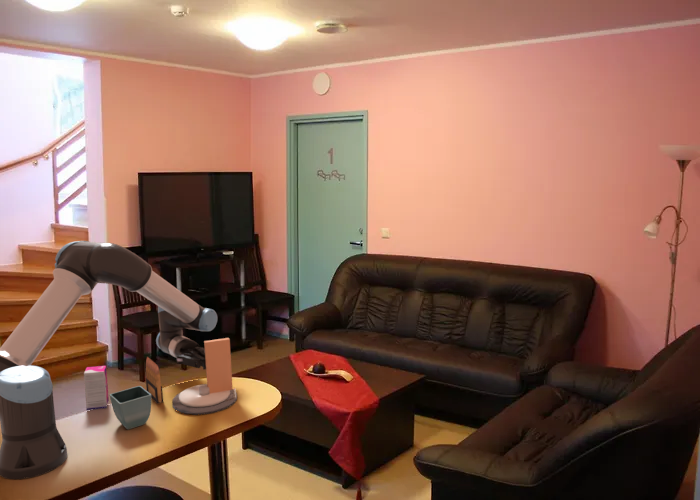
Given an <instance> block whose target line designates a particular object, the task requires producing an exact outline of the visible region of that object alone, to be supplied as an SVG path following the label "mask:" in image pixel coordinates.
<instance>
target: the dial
mask: <svg viewBox="0 0 700 500" xmlns="http://www.w3.org/2000/svg"><path fill="white" fill-rule="evenodd" d="M203 343H204V344H203V345H204V349H205V361H206V369H205V373H206V374H205V375H206V383H205V384H204V383H203V384H198V385H194V386H193V385H192V386H191V387H187V388H186V389H184V390H182V391H181V392H179V393H180V395H179V401H180V403H181V404H183V405H185V406H190V407H206V406H211V405H215V404H218V403H221V402H223V401H225V400H226V399H228V398H229V396H230V390H233V389H234V387H233V374H232V372H233V371H232V358H231V357H232V355H231V339H230V338H229V337H225V338H224V337H223V338H218V339H212V340H210V339H209V340H204V341H203Z"/></svg>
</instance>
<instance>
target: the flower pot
mask: <svg viewBox="0 0 700 500" xmlns="http://www.w3.org/2000/svg"><path fill="white" fill-rule="evenodd" d="M109 398H110V404H111V407H112V411H113V413H114V415H115V418H116V419H117V421H118V422H119V423H120V424H121V425H122V427H124V428H125V429H126V430H131V429H134V428H137V427H141V426H143V425H146V423H147V421H148V420H149V418H150V415H151V411H152V410H151V409H152V398H151V394H150V393H149V392H148V391H147V389H145V388H143V386H141V385H137V386H133V387H130V388H126V389H124V390H120V391H116V392H112V393H109Z"/></svg>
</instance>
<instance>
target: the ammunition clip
mask: <svg viewBox="0 0 700 500" xmlns="http://www.w3.org/2000/svg"><path fill="white" fill-rule="evenodd" d="M145 367H146V368H145V376H146V377H145V384H146V385H145V387H146V391H148V392H149V393H150V394H151V400H153V401H154V402H155V403H156V404H157V405H159V404H162V403H164V394H163V385H162V382H161V375H160V369H159V365H158V364H156V362H154V361H153V359H151V358H150V357H149V356H146V362H145Z"/></svg>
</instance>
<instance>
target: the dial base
mask: <svg viewBox="0 0 700 500" xmlns="http://www.w3.org/2000/svg"><path fill="white" fill-rule="evenodd" d="M236 389H237V388H235V387H233V390H230V396H229V398H228V399H226V400H225V401H223V402H221V403H218V404H215V405H211V406H206V407H190V406H185V405H183V404H181V403H180V401H179V395H180V393H181V392H179V393H177V394H175V396H174V397H173V399H172V400H171V401H172V402H171V403H172V408H174V409H175V410H174V409H173V410H174V411H176V410H177V411H179V412H181V413H180V414H182V413H184V414H183V415H188V414H192V415H191V416H200V415H201V414H202V415H209V414H210V415H211V414H215V413H219V412H222V411H224V410H227V409H229V408H231V407H232V406H233V405H234V404H235V403H236V402H237V400H238V393H237V390H236ZM177 411H176V412H177ZM179 412H178V413H179ZM198 414H199V415H198ZM202 415H201V416H202Z"/></svg>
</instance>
